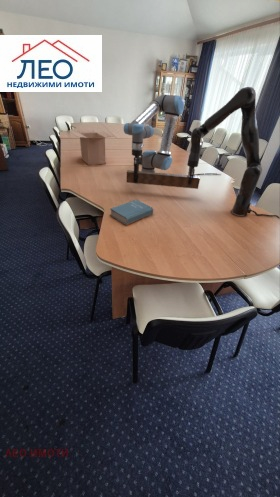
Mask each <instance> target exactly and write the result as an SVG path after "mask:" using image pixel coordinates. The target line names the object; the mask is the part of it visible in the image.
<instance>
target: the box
mask: <svg viewBox="0 0 280 497" xmlns="http://www.w3.org/2000/svg"><path fill="white" fill-rule="evenodd" d="M70 133H71V134H72V135H74V136H75V137H77V138H79V144H80V153H81V160H83V162H85V163H86V165H87V166H95V165H97V166H98V165H106V163H107V162H106V158H107V157H106V138H113V137H114V136H113V135H111V134H109V133H108V132H105V131H98V132H96V131H95V130H92V129H91V130H77V132H76V131H70Z"/></svg>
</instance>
